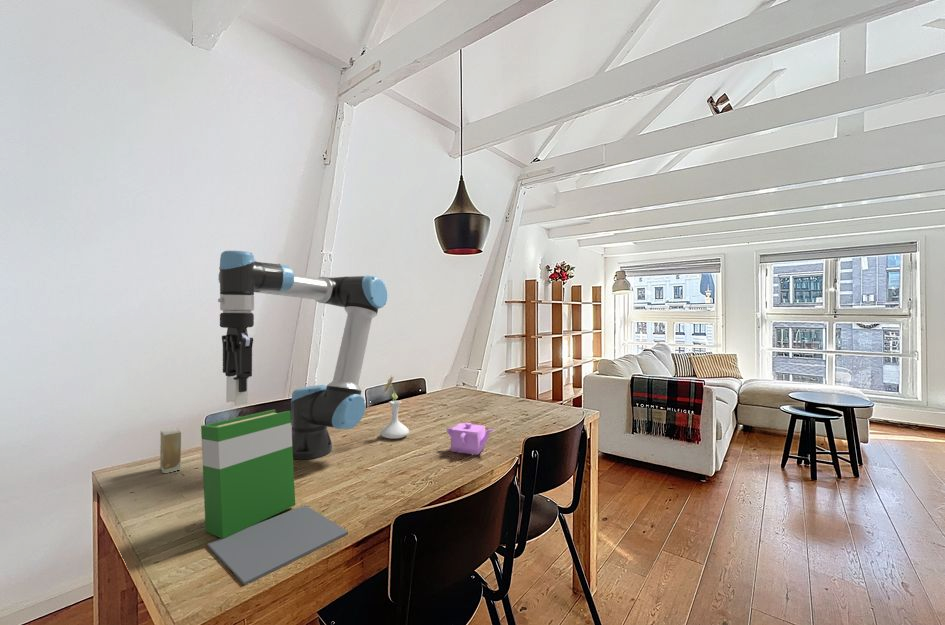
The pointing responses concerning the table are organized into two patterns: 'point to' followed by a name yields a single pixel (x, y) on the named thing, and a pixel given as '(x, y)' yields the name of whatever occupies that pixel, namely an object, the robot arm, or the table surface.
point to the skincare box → (170, 450)
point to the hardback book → (247, 470)
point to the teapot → (468, 438)
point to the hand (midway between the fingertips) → (236, 402)
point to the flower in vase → (394, 418)
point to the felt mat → (275, 543)
